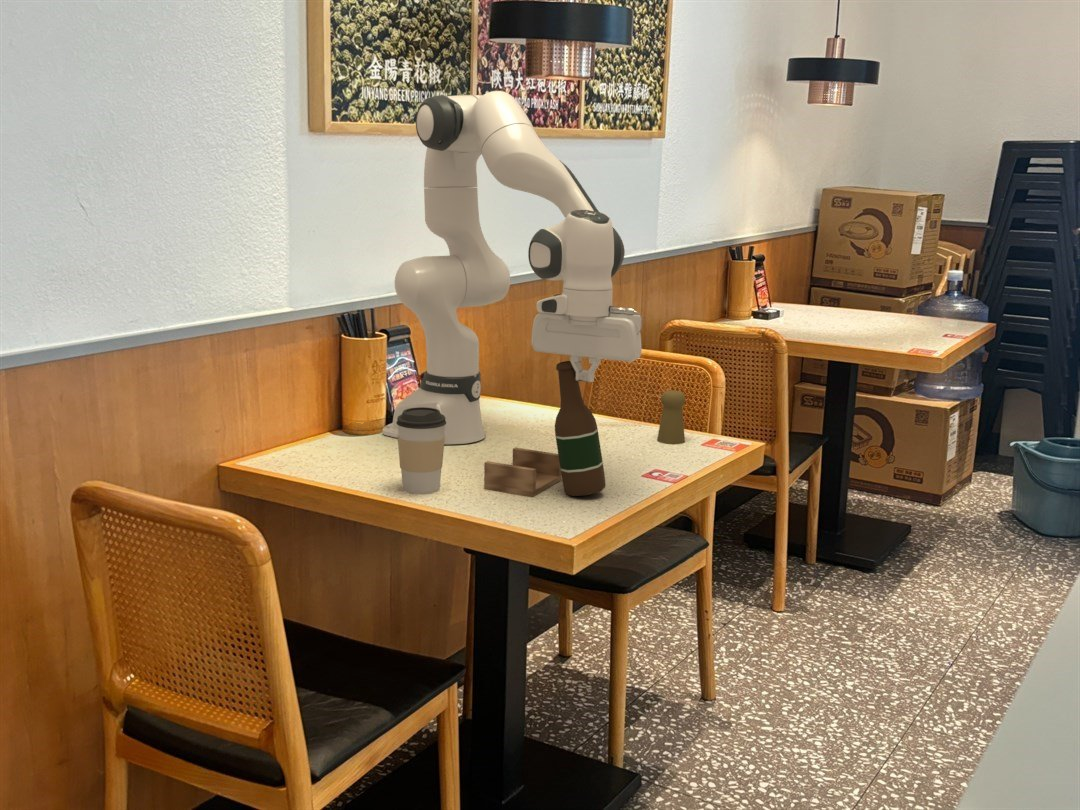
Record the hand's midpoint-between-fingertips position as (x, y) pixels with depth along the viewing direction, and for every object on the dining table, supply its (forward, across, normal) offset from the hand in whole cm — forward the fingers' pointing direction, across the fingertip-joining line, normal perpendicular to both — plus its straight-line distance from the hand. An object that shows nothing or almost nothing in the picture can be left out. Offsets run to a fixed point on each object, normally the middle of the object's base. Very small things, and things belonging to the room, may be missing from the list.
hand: (584, 381), depth 206 cm
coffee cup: (+21, +27, +12) cm, 36 cm away
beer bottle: (+21, -1, 0) cm, 21 cm away
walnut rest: (+21, +12, 0) cm, 24 cm away
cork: (+21, -1, -45) cm, 50 cm away
